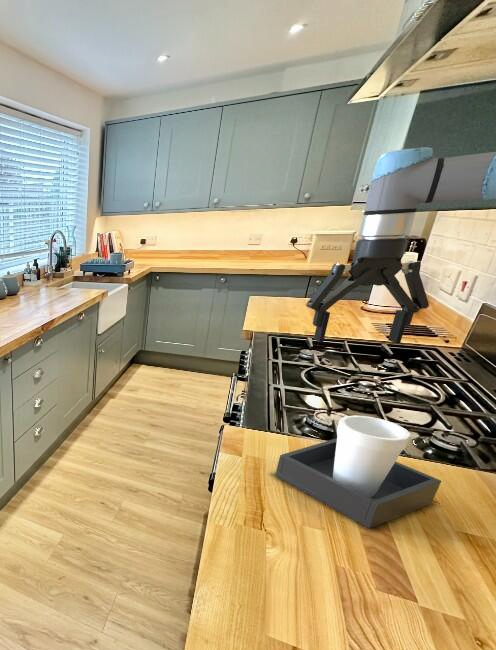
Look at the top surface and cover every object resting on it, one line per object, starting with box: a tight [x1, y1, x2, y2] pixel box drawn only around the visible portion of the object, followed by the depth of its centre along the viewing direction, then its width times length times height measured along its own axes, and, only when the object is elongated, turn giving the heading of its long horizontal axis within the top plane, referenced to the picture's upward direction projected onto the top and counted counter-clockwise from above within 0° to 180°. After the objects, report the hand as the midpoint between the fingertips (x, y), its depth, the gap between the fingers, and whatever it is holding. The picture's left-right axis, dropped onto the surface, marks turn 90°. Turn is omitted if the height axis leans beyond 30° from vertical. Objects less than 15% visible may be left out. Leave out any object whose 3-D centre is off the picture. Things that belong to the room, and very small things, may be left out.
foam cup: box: [333, 414, 411, 497], centre depth 77 cm, size 10×9×13 cm
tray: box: [274, 437, 442, 529], centre depth 80 cm, size 17×17×5 cm
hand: (355, 341), depth 90 cm, fingers open, 13 cm apart
